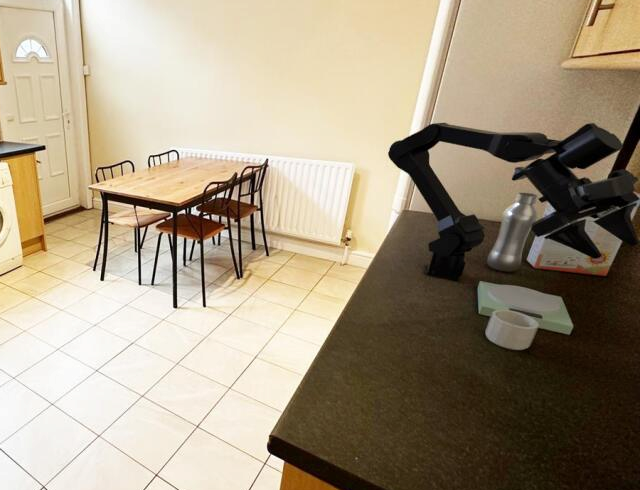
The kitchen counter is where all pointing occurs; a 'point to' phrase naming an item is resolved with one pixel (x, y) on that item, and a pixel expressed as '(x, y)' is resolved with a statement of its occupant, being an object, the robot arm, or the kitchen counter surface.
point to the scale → (525, 305)
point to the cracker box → (571, 260)
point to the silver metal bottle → (513, 233)
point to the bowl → (511, 329)
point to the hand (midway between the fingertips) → (617, 251)
